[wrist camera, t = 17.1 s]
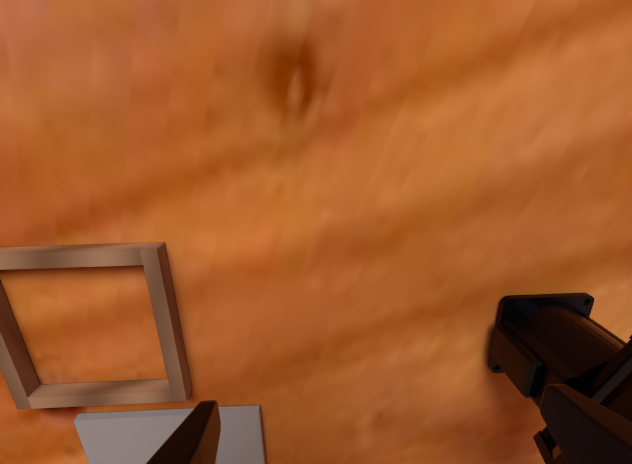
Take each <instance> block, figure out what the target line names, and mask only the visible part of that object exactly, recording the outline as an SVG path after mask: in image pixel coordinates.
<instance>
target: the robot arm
mask: <svg viewBox="0 0 632 464" xmlns="http://www.w3.org/2000/svg"><path fill="white" fill-rule="evenodd" d="M584 300H585V301H584ZM509 302H511V303H510V304H508V303H509ZM593 303H594V298H593V297H592V296H591V295H589V294H587V293H565V294H538V295H512V296H505V297H504V298H503V299H502V300H501V302H500V307H499V312H498V317H497V322H496V326H495V329H494V334H493V339H492V344H491V349H490V357H489V362H488V367H489V368H490V370H491V371H492V372H494V373H504V372H505V373H506V375H507V376H508V377H509V378H510V380H511V381H512V382H513V383H514V385H515V386H516V387H517V388H518V390H519V391H520V392H521V394H522V395H523V396H525V397H526V398H531V399H532V400H533V401H534V402H535V404H536V405H537V406H538V407H539V409H540V412H541V415H542V417H543V419H544V421H545V423H546V425H547V426H546V427H545V428H544V429H543V430H542V431H539V432H538V433H537V434H536V435H535V436H534V437H533V438H534V440H535V442H536V445H537V447H538V449H539V451H540V453H541V455H542V457H543V459H544V461H545V463H546V464H632V335H631V336H630V337H629V338H630V339H631V340H630V341H629V342H628V343H626V342H624V341H623V340H621V339H620V338H618V337H617V336H616V335H614V334H613V333H611V332H610V331H608V330H607V329H605V328H604V327H603V326H601V325H600V324H598V323H597V322H595V321H594V320H593V319H591V318H590V317H589V316H590V313H591V309H592V306H593ZM507 304H508V305H507ZM220 432H221V421H220V414H219V408H218V403H217V401H215V400H209V401H201V402H200V403H199V404H198V405H197V406H196V407H195V408H194V409H193V411H192V412H191V413H190V414H189V415H188V416H187V417H186V418H185V420H184V421H183V422H182V423H181V424H180V425H179V426H178V428H177V429H176V430H175V431H174V432H173V433H172V434H171V436H170V437H169V438H168V439H167V440H166V441H165V442H164V443H163V445H162V446H161V447H160V448H159V449H158V450H157V451H156V453H155V454H154V455H153V456H152V457H151V458H150V459H149V460H148V462H147V463H146V464H215V463H216V457H217V451H218V445H219V439H220Z"/></svg>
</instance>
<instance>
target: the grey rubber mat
mask: <svg viewBox="0 0 632 464" xmlns="http://www.w3.org/2000/svg"><path fill="white" fill-rule="evenodd" d="M218 408H219V414H220V421H221V432H220V439H219V445H218V451H217V457H216V463H215V464H266V463H265V453H264V443H263V433H262V423H261V413H260V405H251V406H230V407H218ZM193 409H194V408H188V409H167V410H146V411H125V412H103V413H82V414H78V415H77V416H76V418H75V419H74V420H73V421H74V423H75V426H76V429H77V432H78V434H79V437H80V440H81V443H82V445H83V448H84V451H85V454H86V457H87V459H88V462H89V464H146V463H147V462H148V460H149V459H150V458H151V457H152V456H153V455H154V454H155V453H156V451H157V450H158V449H159V448H160V447H161V446H162V445H163V443H164V442H165V441H166V440H167V439H168V438H169V437H170V436H171V434H172V433H173V432H174V431H175V430H176V429H177V428H178V426H179V425H180V424H181V423H182V422H183V421H184V420H185V418H186V417H187V416H188V415H189V414H190V413H191V412H192V411H193Z"/></svg>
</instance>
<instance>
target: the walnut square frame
mask: <svg viewBox="0 0 632 464" xmlns="http://www.w3.org/2000/svg"><path fill="white" fill-rule="evenodd" d="M130 265H143V267H144V271H145V276H146V280H147V285H148V290H149V294H150V299H151V303H152V308H153V313H154V317H155V322H156V326H157V331H158V336H159V340H160V345H161V349H162V354H163V359H164V363H165V368H166V372H167V377H168V379H156V380H133V381H111V382H88V383H66V384H43V385H40V382H39V380H38V377H37V375H36V372H35V369H34V367H33V364H32V362H31V359H30V357H29V354H28V351H27V349H26V346H25V344H24V341H23V339H22V336H21V333H20V331H19V328H18V326H17V323H16V321H15V318H14V315H13V313H12V310H11V308H10V305H9V303H8V300H7V297H6V295H5V292H4V290H3V287H2V285H1V282H0V370H1V372H2V374H3V377H4V379H5V381H6V384H7V386H8V388H9V391H10V393H11V395H12V398H13V400H14V402H15V404H16V407H17V409H33V408H54V407H76V406H97V405H119V404H140V403H161V402H183V401H187V400H188V397H189V395H190V392H191V390H192V385H191V380H190V375H189V369H188V364H187V359H186V353H185V348H184V343H183V337H182V332H181V327H180V321H179V316H178V311H177V305H176V300H175V295H174V289H173V284H172V279H171V273H170V268H169V263H168V257H167V252H166V247H165V242H157V243H124V244H92V245H59V246H26V247H0V270H8V269H38V268H69V267H99V266H130Z"/></svg>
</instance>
